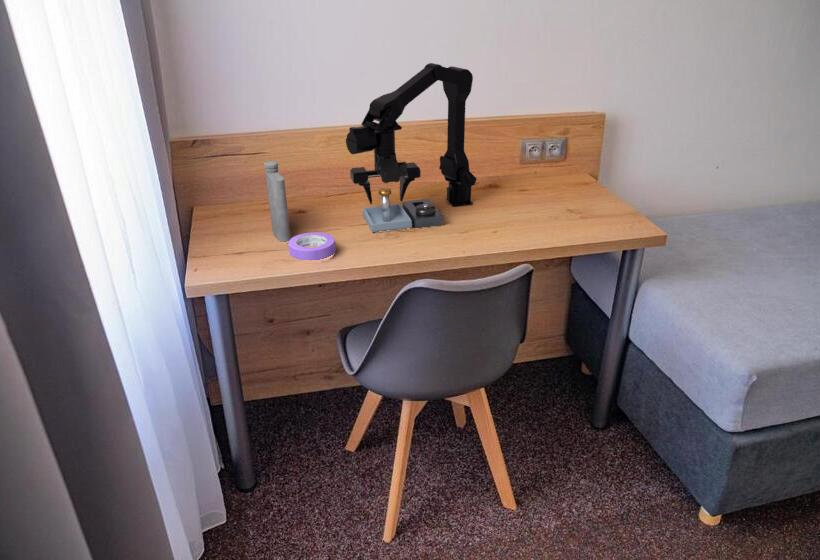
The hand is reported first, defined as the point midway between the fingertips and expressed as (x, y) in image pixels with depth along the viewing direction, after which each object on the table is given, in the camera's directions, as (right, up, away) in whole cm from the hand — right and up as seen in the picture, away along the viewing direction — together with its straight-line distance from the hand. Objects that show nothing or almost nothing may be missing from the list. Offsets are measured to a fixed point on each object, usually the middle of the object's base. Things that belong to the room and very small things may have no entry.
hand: (386, 202), depth 176 cm
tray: (0, -5, +3) cm, 6 cm away
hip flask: (-29, -9, -3) cm, 31 cm away
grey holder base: (+10, -4, +5) cm, 12 cm away
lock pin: (0, -5, +3) cm, 5 cm away
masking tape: (-18, -15, -15) cm, 28 cm away
